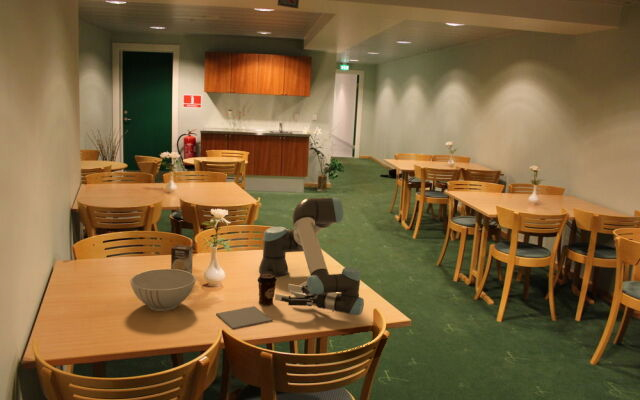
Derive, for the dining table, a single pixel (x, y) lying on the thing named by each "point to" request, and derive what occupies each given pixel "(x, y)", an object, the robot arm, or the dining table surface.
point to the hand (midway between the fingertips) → (282, 291)
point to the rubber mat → (243, 317)
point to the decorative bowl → (162, 287)
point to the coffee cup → (266, 288)
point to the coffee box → (182, 258)
